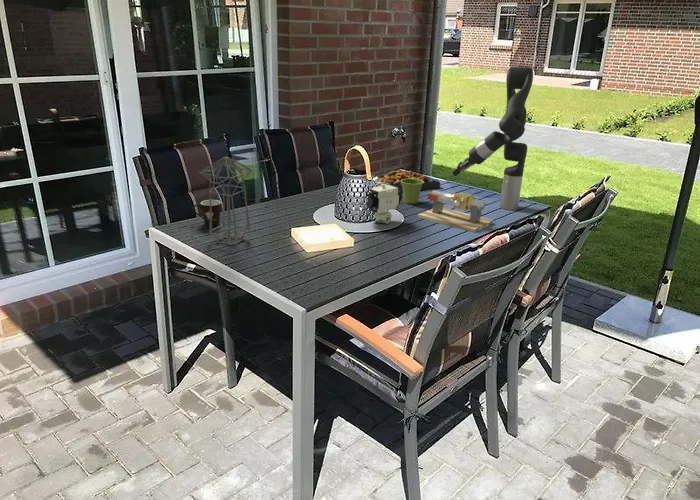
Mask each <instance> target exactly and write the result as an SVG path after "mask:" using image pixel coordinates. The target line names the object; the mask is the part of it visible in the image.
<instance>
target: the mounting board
mask: <svg viewBox="0 0 700 500" xmlns="http://www.w3.org/2000/svg"><path fill="white" fill-rule="evenodd" d="M432 210H433V208H431V209H429V210H426V211H425V210H424V211H423V212H421V213H418V215H417V216H418V217H417V218H418V219H423V220H427V221H430V222H434V223H438V224H441V225H445V226H447V227H448V226H449V227H453V228H456V229H461V230H464V231H468V232H471V231H472V232H471V233H477V232H479V231H481V230H483V229H485V228H487V227H489V226H490V225H492V224H494V219H490V218H486V217H483V216H481V217H480V222H478V223H476V224H474V223H470V214H471V213H465V212H462V211H458V210H453V209H450V208H445V207H443V211H442V213H439V214H435V213H432ZM476 231H477V232H476Z"/></svg>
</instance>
